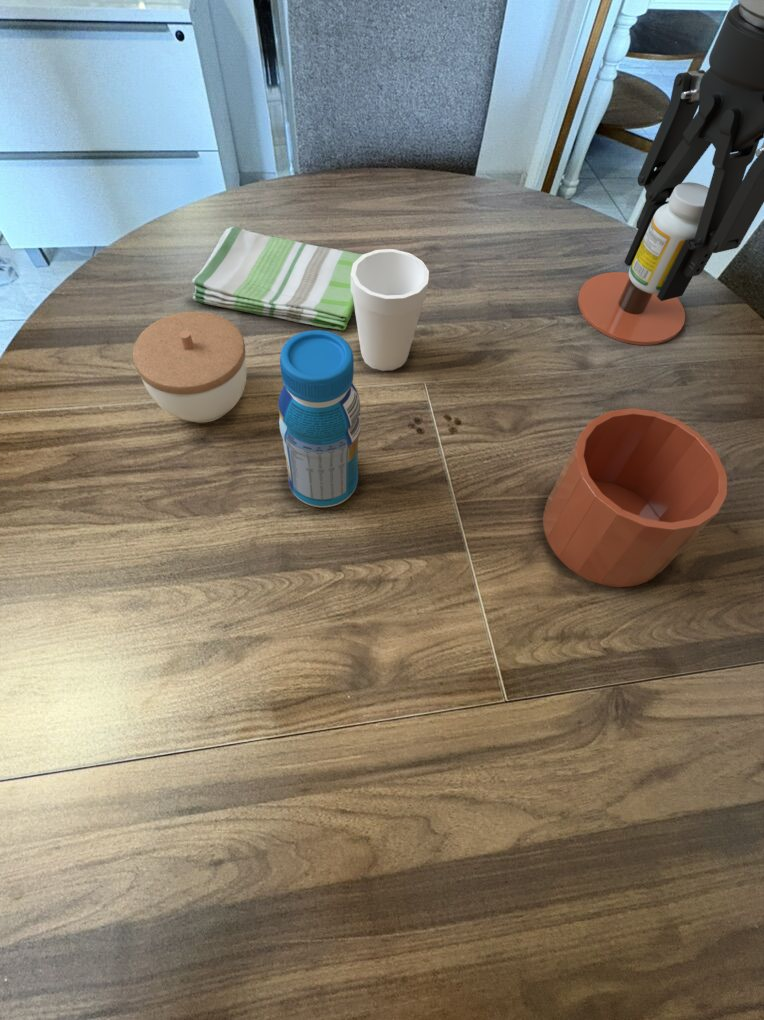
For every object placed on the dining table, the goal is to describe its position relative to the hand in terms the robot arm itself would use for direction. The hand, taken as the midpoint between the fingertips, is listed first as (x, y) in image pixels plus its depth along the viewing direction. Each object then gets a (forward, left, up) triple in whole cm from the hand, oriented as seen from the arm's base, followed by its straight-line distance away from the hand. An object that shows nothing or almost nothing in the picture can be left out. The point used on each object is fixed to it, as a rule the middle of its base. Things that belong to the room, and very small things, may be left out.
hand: (652, 278), depth 66 cm
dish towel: (+31, -36, -19) cm, 51 cm away
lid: (-15, -13, -18) cm, 27 cm away
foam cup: (+23, -17, -19) cm, 34 cm away
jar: (+10, +18, -19) cm, 28 cm away
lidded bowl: (+48, -17, -19) cm, 54 cm away
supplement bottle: (0, 0, 0) cm, 1 cm away
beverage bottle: (+38, 0, -19) cm, 42 cm away
